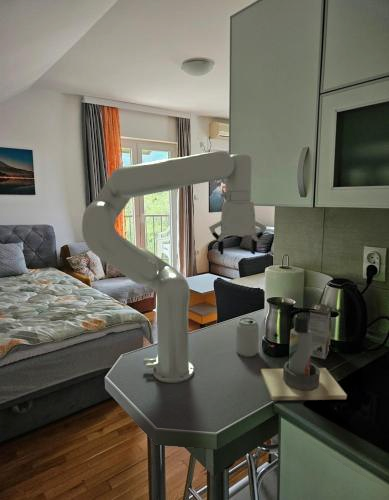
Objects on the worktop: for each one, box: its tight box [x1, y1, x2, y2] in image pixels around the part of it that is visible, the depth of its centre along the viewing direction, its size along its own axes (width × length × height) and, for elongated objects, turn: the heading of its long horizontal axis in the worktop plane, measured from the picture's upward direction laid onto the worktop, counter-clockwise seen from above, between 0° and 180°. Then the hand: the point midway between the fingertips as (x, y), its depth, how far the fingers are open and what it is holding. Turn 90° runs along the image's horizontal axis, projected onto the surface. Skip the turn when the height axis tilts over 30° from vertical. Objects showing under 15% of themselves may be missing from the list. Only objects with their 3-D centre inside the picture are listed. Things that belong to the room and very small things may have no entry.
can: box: [235, 316, 260, 358], centre depth 113 cm, size 8×8×12 cm
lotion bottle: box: [288, 312, 312, 376], centre depth 93 cm, size 6×6×20 cm
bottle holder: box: [260, 360, 348, 401], centre depth 94 cm, size 20×14×5 cm
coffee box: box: [308, 302, 333, 360], centre depth 113 cm, size 9×6×16 cm
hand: (237, 253), depth 101 cm, fingers open, 9 cm apart
